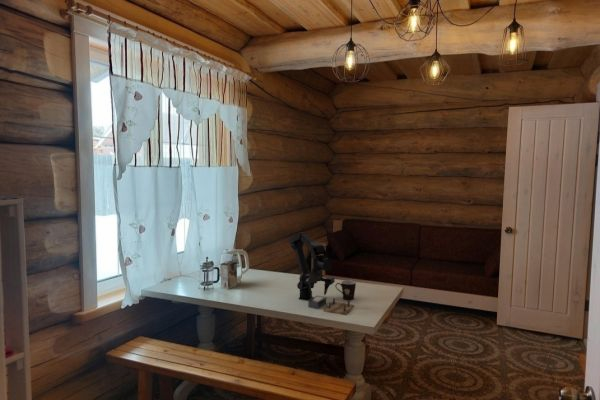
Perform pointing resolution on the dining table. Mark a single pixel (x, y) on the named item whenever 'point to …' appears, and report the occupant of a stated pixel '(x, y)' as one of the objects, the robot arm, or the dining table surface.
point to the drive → (317, 302)
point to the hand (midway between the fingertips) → (317, 293)
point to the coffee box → (228, 274)
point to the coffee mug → (347, 289)
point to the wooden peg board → (339, 307)
